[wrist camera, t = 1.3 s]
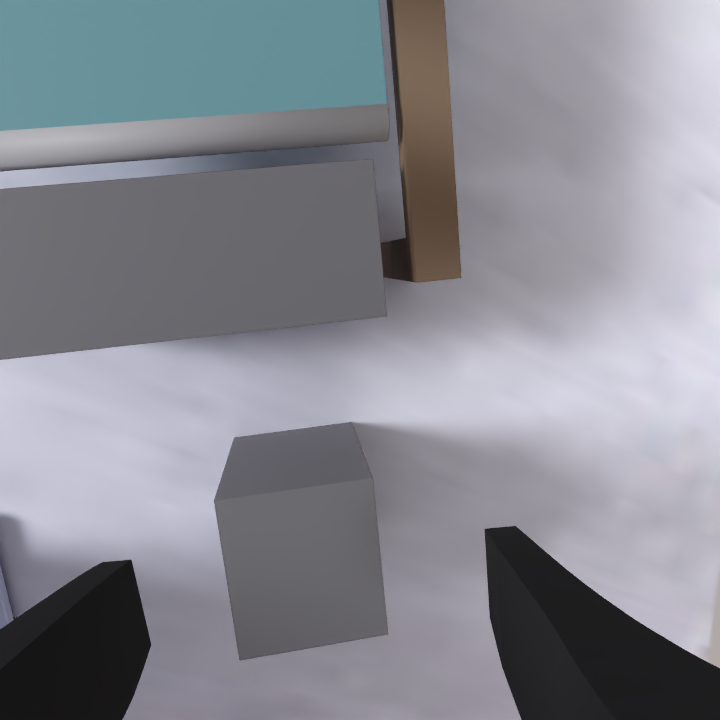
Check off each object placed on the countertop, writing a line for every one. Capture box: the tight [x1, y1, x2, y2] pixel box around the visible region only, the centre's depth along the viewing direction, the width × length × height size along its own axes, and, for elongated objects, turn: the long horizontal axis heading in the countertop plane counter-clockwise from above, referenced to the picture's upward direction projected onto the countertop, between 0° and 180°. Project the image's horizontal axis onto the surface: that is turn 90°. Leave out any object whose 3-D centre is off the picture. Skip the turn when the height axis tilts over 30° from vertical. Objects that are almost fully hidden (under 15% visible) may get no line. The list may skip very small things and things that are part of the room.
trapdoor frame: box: [380, 0, 461, 282], centre depth 15 cm, size 15×14×6 cm
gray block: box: [214, 422, 388, 660], centre depth 18 cm, size 5×4×6 cm
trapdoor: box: [0, 0, 389, 360], centre depth 14 cm, size 15×11×4 cm
